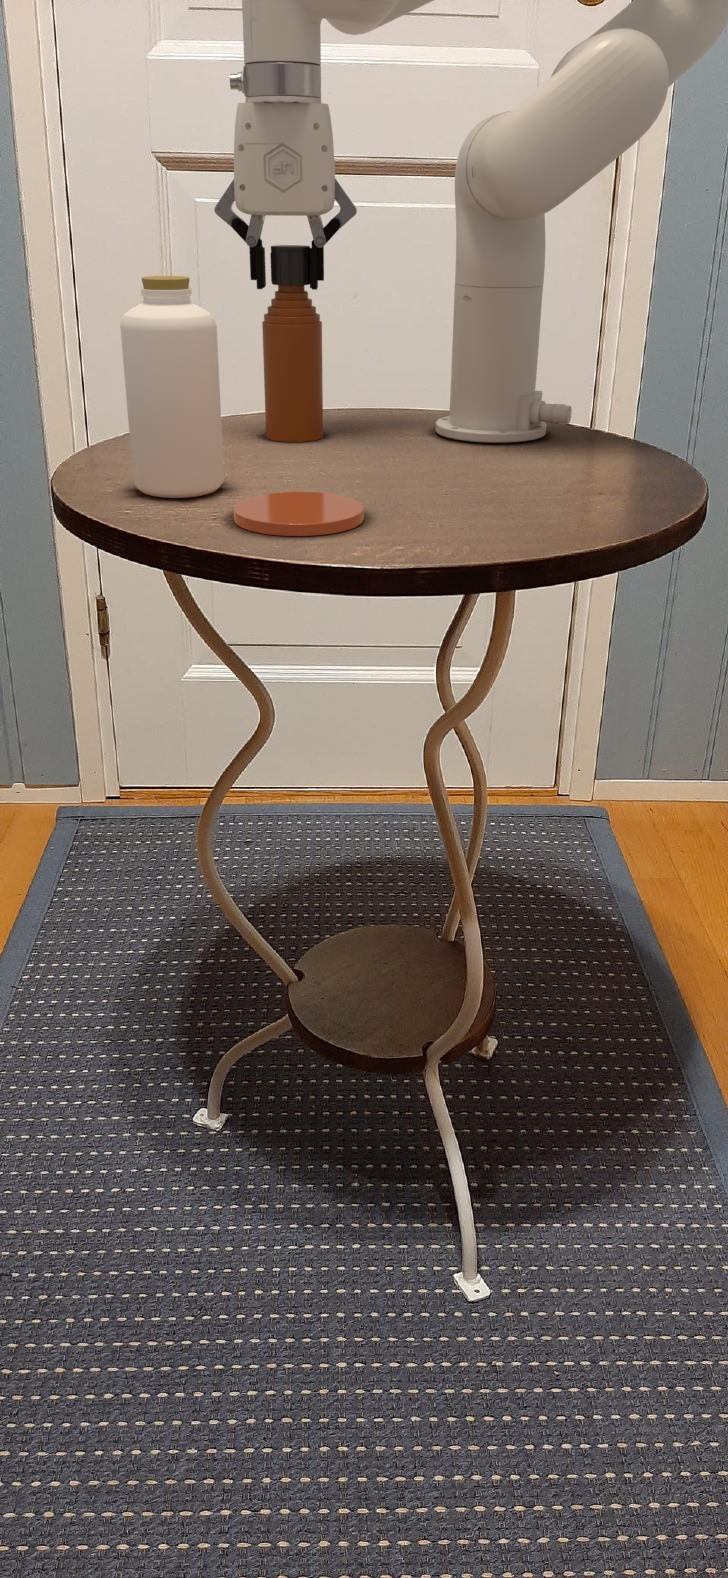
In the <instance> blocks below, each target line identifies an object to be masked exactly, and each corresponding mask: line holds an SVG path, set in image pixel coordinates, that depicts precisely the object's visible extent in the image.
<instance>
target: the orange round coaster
mask: <svg viewBox="0 0 728 1578" xmlns="http://www.w3.org/2000/svg"><path fill="white" fill-rule="evenodd" d="M232 509H233V510H232V511H233V522H234V523H235V524H236V525H237V526H238V527H240V528H241V529H244V530H247V531H250V532H254V533H257V534H258V533H259V534H264V535H270V536H279V537H280V536H281V537H312V536H313V537H314V536H315V537H316V536H325V535H332V534H338V533H342V532H345V531H350V530H352V529H355V528H357V527H359V526H360V525H362V523H363V522H364V520H365V507H364V505H363V504H362V503H361V501H358V500H357V499H354V498H351V497H348V496H344V495H340V494H335V493H329V492H328V493H326V492H316V491H315V492H314V491H286V492H285V491H284V492H283V491H282V492H272V493H266V494H259V495H255V496H250V497H248V498H244V499H242V500H240V501H237V503H235V504H234V506H233V508H232Z"/></svg>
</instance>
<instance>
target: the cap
mask: <svg viewBox="0 0 728 1578" xmlns="http://www.w3.org/2000/svg"><path fill="white" fill-rule="evenodd" d="M310 248H311V246H310V245H301V244H294V245H293V244H285V245H284V244H280V245H277V244H276V245H271V246H270V282H271V285H273V286H278V285H285V286H299V285H304V286H310V257H309V249H310Z"/></svg>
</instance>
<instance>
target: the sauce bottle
mask: <svg viewBox="0 0 728 1578" xmlns="http://www.w3.org/2000/svg"><path fill="white" fill-rule="evenodd" d="M305 286H306V285H299V286H285V285H277V290H276V291H274V298H271V299H270V305H269V306H267V313H264V314H263V321H262V322H261V325H262V327H261V329H262V352H263V353H262V355H263V382H264V383H263V384H264V385H263V387H264V415H265V417H264V418H265V437H266V439H268V440H271V441H275V442H283V443H304V442H312V441H318V440H320V439H322V438H323V437H324V400H323V399H324V396H323V392H324V391H323V388H324V387H323V386H324V385H323V383H324V382H323V322H322V321H321V315H320V313H317V306H314V305H313V299H312V298H310V297H309V291H307V290H306V289H305Z"/></svg>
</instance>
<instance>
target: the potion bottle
mask: <svg viewBox="0 0 728 1578" xmlns="http://www.w3.org/2000/svg"><path fill="white" fill-rule="evenodd" d="M190 279H191V278H190V277H189V276H184V275H183V276H182V275H151V276H150V275H149V276H142V277H141V281H142V286H143V287H141V288H140V293H141V296H142V297H143V298H142V299H143V302H141V303H139V304H137V305H136V306H134V307H131V308H130V309H129V310H128V311H126V312H125V313H124V314H123V316H122V318H121V319H120V325H119V326H120V339H121V350H122V351H121V352H122V361H123V363H122V364H123V373H124V374H123V375H124V385H125V399H126V409H127V420H128V433H129V444H130V445H129V447H130V455H131V466H132V469H131V471H132V479H133V485H134V486H135V488H136V489H138V491H140V492H141V493H143V494H145V495H149V496H151V497H157V498H164V499H166V498H167V499H188V498H196V497H201V496H206V495H209V494H212V493H214V492H217V490H218V489H219V488H220V487H221V486H222V485H223V483H224V482H225V474H224V473H225V471H224V470H225V469H224V451H223V450H224V449H223V430H222V429H223V428H222V409H221V408H222V407H221V406H222V405H221V387H220V367H219V366H220V365H219V364H220V363H219V349H218V348H219V346H218V344H219V343H218V327H217V322H216V319H215V318H214V317H213V315H212V314H211V312H209V311H207V310H206V309H205V308H204V307H201V306H200V305H197V304H195V303H193V302H192V301H191V296H192V291H193V289H192V288H191V287H190Z"/></svg>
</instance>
